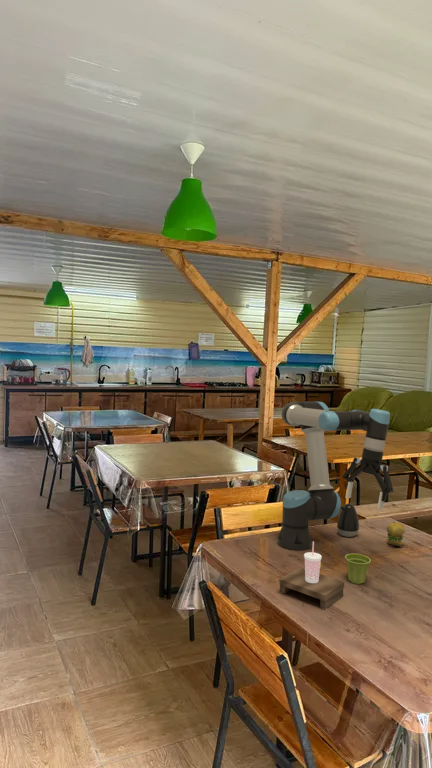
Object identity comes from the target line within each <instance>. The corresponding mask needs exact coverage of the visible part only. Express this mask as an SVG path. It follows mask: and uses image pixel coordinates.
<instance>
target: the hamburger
mask: <svg viewBox="0 0 432 768" xmlns="http://www.w3.org/2000/svg"><path fill="white" fill-rule="evenodd" d="M405 531H406V530H405V526H404V525H403V524H402V523H400V522H397V521H395V520H394V521H391V522H390V523H389V524H387V527H386V532H387V541H386V542H387V543H388V544H390V545H392V546H395V547H401V546H403V544H404V542H403V541H402V540H403V539H404V535H403V534H405Z"/></svg>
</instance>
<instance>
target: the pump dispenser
mask: <svg viewBox="0 0 432 768" xmlns="http://www.w3.org/2000/svg"><path fill="white" fill-rule="evenodd" d="M359 521H360V520H359V516H358V512H357V510H356V508H355V506H354V505H353V504H352V503H345V504H344V505H343V506H342V505H341V508H340V512H339V513H338V518H337V523H336V528H337V530H338V533H339V534H340V535H341V536H343V537H345V538H353V537H355V536H356V535H357V534H358V532H359V530H360V522H359Z"/></svg>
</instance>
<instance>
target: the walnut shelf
mask: <svg viewBox="0 0 432 768" xmlns="http://www.w3.org/2000/svg"><path fill="white" fill-rule="evenodd" d="M278 585H279V593H280V592H282V593H281V594H283V593H284V594H283V595H285V593H286V592H287V593H289V592H290V591H292V590H293V591H297V592H299V593H301V594H304V595H307V596H310V597H312V598H314V599H318V600H320V602H319V608H320V607H322V608H321V609H323V608H324V609H323V610H325V609H326V608H327V607H328V608H330V607H331V606H332V605H333V603H334V604H335V603H336V602H337V601H339V600H340V599H341V598H342V599H343V597H344V588H345V581H343V580H339V579H337V578H333V577H331V576H327V575H324V574H322V573H319V581H318V582H317V583H309V582H307V581H306V580H305V567H304V568H303V567H301V566H300V567H297V568H296V569H294V570H292V571H291V572H290V573H287V574H285V575H284V576H282V577H281V578H279V581H278ZM291 589H292V590H291ZM288 591H289V592H288ZM287 593H286V594H287ZM330 605H331V606H330ZM329 606H330V607H329ZM328 608H327V609H328ZM327 609H326V610H327Z"/></svg>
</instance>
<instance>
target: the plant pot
mask: <svg viewBox="0 0 432 768" xmlns="http://www.w3.org/2000/svg"><path fill="white" fill-rule="evenodd" d="M344 559H345V561H346V565H347V577H348V581H350V582H351V583H352V584H357V585H358V584H359V585H360V584H365V583H366V578H367V574H368V573H367V572H368V568H369V566H370V563H371V562H372V560H371V558H370V557H368V556H367V555H364V554H361V553H348V554H345V556H344Z"/></svg>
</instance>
